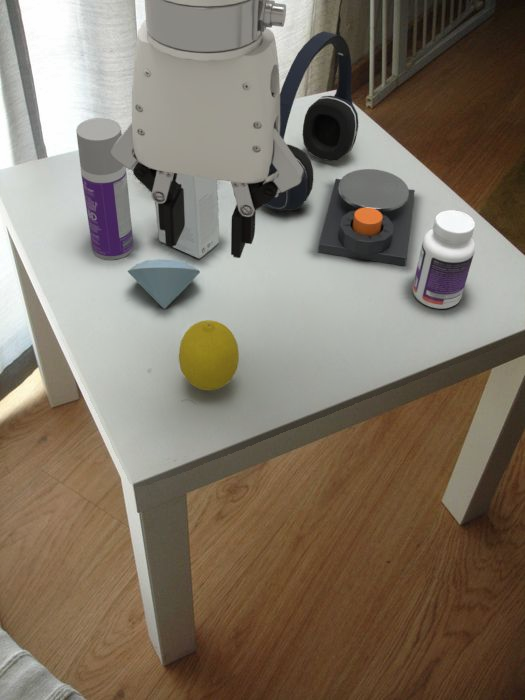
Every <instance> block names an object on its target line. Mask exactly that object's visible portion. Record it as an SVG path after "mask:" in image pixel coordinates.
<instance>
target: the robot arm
mask: <svg viewBox="0 0 525 700" xmlns="http://www.w3.org/2000/svg"><path fill="white" fill-rule="evenodd" d="M144 10H145V11H144V12H145V13H144V14H145V20H144V21H143V22H142V23H141V25H140V28H138V31H137V37H136V44H135V49H134V50H135V51H134V60H133V72H132V86H131V87H132V89H131V123H130V124H129V125H128V126H127V127H126V129H125V130H124V131H123V133H121V134H122V135H121V136H120V138H119V139H118V140H117V141H116V143H115V144H114V146H113V148H112V149H111V155H112V156H113V158H115V159H116V160H117V161H119V162H120V163H121V164H122V165H124V166H125V167H126V170H129V171H132V173H133V176H134V177H135V178H136V179H137V180H138V181H139V182H140V183H141V184H142V185H143V186H144V187H145V188H146V189H147V190H148V191H149V192H150V193H151V195H150V197H151V200H153V201H154V203H155V202H156V203H158V211H159V226H160V230H165V239H166V244H165V247H169V248H174V247H173V246H176V244H177V242H178V240H179V237H180V235H181V233H182V231H183V229H184V226H185V213H184V189H183V188H182V186H181V184H178V183H177V182H176V180H177V176H178V174H184V175H190V176H196V177H203V178H210V179H217V181H223V182H224V181H225V182H230V184H231V188H232V192H233V195H234V199H235V203H236V205H235V208H234V210H233V213H232V215H231V224H230V225H231V228H230V229H231V230H230V231H231V232H230V255H231V256H233V258H238V259H240V258H241V256H242V254H243V252H244V249H245V246H246V244H247V245H248V244H249V245H252V243H253V241H254V238H255V234H256V212H257V210H259V209H260V208H261V207H263V206H265V205H264V204H266V203H267V202H269V201H270V200H272V199H273V198H274V197H275V196H276V195H277V194H279V193H283V192H285V191H287V190H289V189H291V188H293V187H295V186H297V185H299V184H300V183H301V180H302V177H303V174H304V170H303V168H302V166H301V165H300V164H299V162H298V161H297V159H296V158H295V156H294V155H293V153H292V152H291V150H290V149H289V147H288V146H287V145H286V144H287V143H286V142H285V139H284V140H283V139H282V137H281V136H280V93H281V86H280V85H281V84H280V68H279V58H278V50H277V44H276V38H275V34H274V32H273V31H272V30H271V28H273V26H274V27H281V28H283V27H284V26H285V24H286V23H285V22H286V15H287V5H286V4H285V3H277V2H275V0H144ZM271 163H272V164H273V165H274V167H275V168H276V170H277V171H276V173H274V174H268V173H269V167H270V165H271Z"/></svg>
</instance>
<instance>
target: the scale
mask: <svg viewBox="0 0 525 700" xmlns="http://www.w3.org/2000/svg"><path fill="white" fill-rule="evenodd" d="M341 179H342V178H335V180H334V184H333V188H332V191H331V195H330V199H329V203H328V207H327V211H326V215H325V220H324V223H323V227H322V231H321V234H320V239H319V242H318V250H317V251H318V253H322V254H327V255H334V256H340V257H347V258H351V259H358V260H359V259H360V260H364V261H365V260H366V261H371V262H376V263H377V262H378V263H384V264H390V265H397V266H403V267H405V266H406V262H407V255H408V246H409V238H410V231H411V223H412V215H413V207H414V206H413V205H414V199H415V192H416V191H415V189H409V188H408V190H409V195H408V199H407V201H406V202H405V204H403V205H402V206H401V207H399V208H397V209H394V210H391V211H385V212H380V213H381V214H382V217H383V218H382V224H381V229H380V232H379V233H378V234H376V235H371V236H368V235H362V234H359V233H357V232H355V231H354V229H353V220H354V214H355V212H356V210H358V209H359V208H356V207H354V206H352V205H350V204H349V203H347V202H346V201H345V200H344V199H343V198H342V197H341V195H340V193H339V183H340V180H341Z"/></svg>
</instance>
